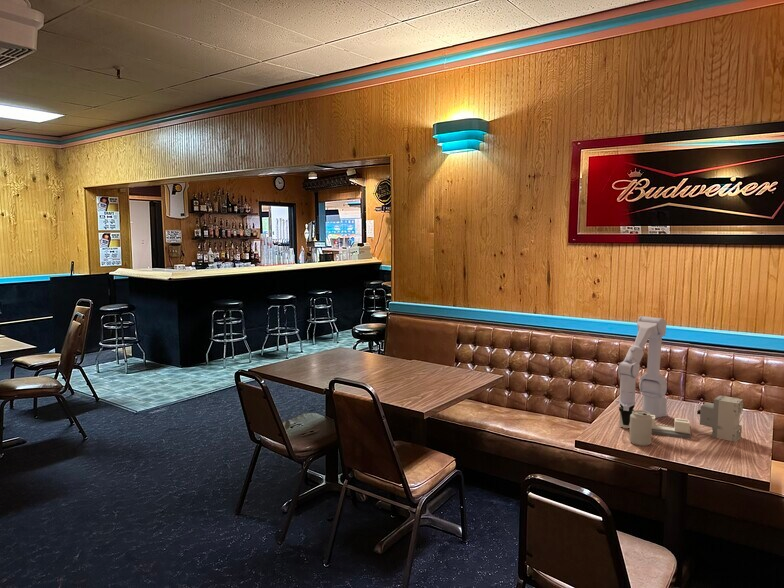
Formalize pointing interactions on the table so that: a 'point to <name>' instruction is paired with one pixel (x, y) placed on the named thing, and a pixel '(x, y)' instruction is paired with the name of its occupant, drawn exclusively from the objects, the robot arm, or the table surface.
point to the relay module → (622, 423)
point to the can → (640, 428)
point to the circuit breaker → (723, 417)
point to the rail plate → (673, 428)
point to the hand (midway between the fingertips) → (626, 423)
